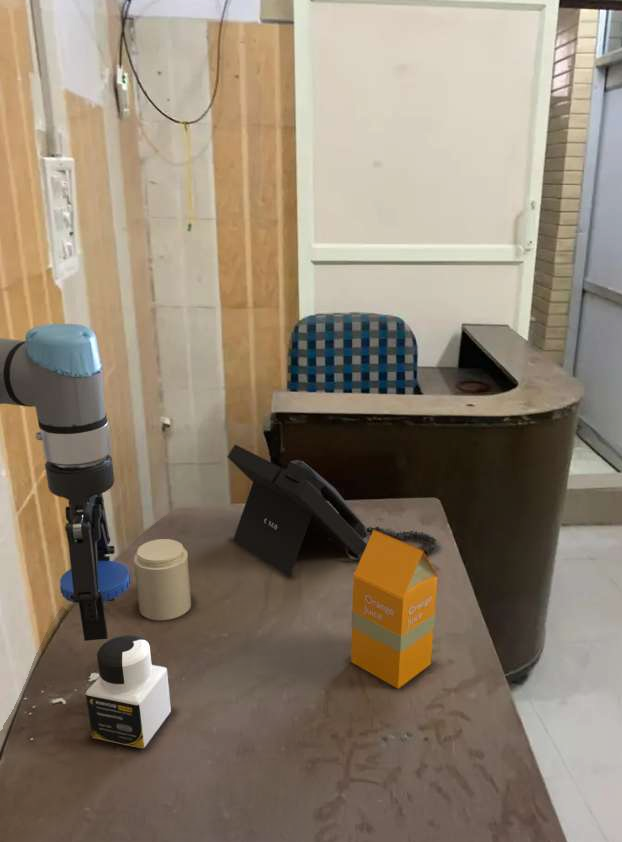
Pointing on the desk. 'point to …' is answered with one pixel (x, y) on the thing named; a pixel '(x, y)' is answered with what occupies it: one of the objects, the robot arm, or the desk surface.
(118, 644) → the medicine bottle
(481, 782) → the desk surface
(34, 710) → the desk surface
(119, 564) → the jar lid
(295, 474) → the office phone
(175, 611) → the jar
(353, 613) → the orange juice
